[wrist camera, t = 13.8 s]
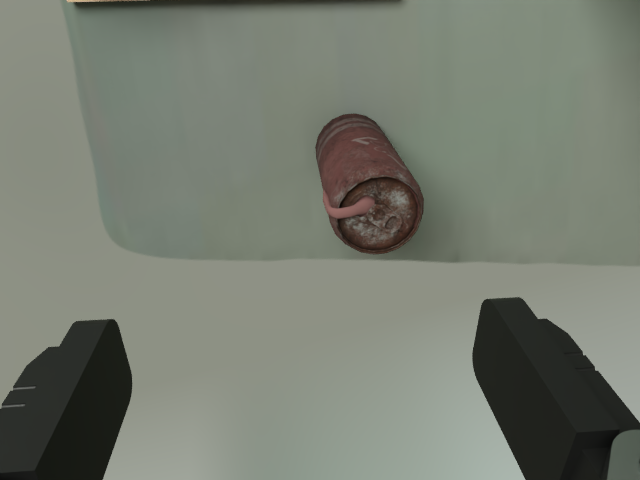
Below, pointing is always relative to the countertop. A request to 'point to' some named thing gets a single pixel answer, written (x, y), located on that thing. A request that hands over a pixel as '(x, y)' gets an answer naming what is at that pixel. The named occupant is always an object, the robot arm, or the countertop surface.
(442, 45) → the countertop surface
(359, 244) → the can
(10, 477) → the robot arm
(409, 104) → the countertop surface
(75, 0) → the board
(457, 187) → the countertop surface
